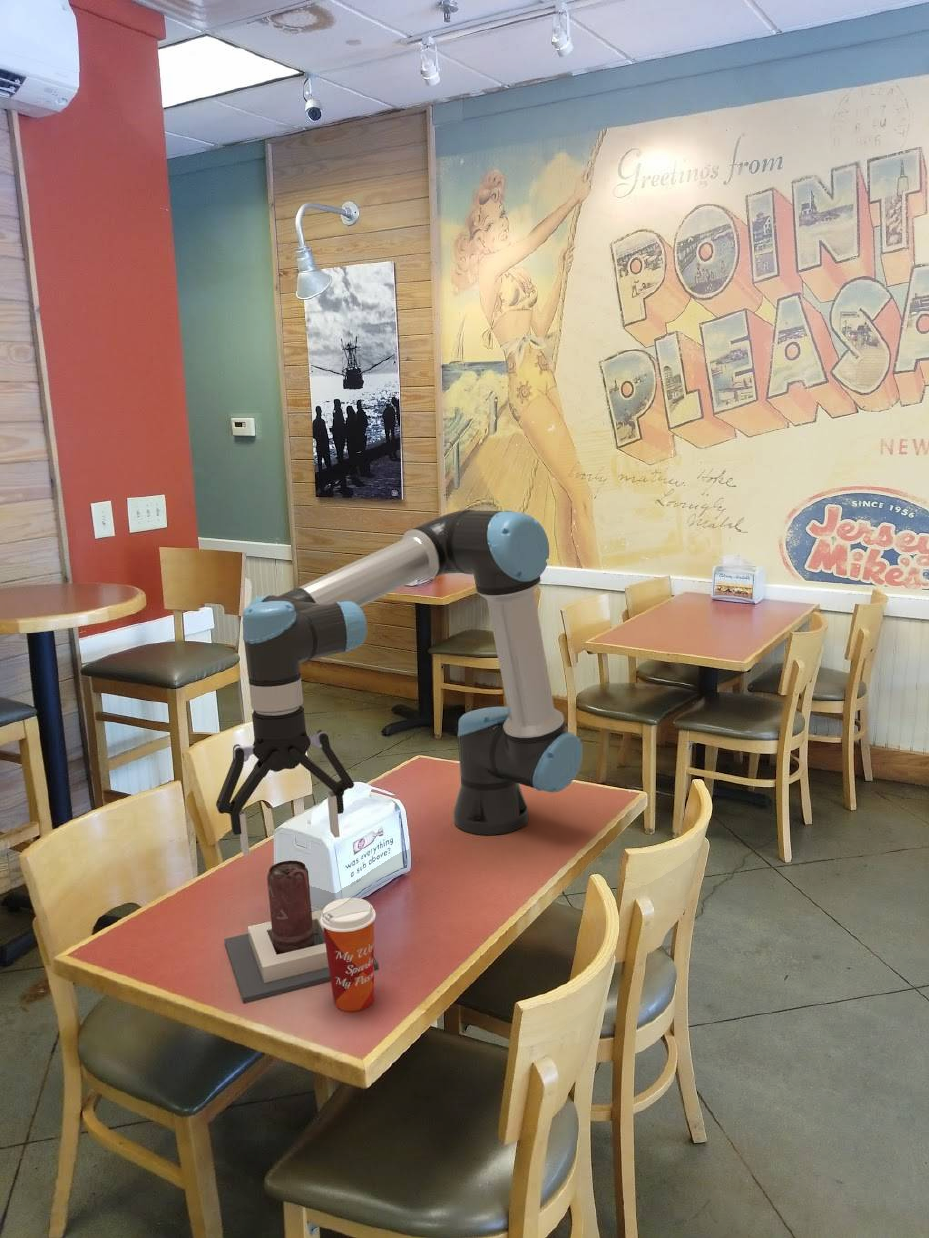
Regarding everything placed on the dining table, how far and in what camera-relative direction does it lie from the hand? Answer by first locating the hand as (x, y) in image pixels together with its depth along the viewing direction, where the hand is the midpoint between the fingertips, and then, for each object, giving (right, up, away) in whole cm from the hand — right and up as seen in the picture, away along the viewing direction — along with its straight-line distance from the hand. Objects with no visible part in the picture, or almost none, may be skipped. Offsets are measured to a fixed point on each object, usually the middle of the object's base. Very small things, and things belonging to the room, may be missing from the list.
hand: (291, 843), depth 145 cm
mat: (+1, -18, +3) cm, 18 cm away
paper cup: (+11, -20, -9) cm, 24 cm away
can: (0, -18, +3) cm, 18 cm away
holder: (+1, -17, +3) cm, 18 cm away
